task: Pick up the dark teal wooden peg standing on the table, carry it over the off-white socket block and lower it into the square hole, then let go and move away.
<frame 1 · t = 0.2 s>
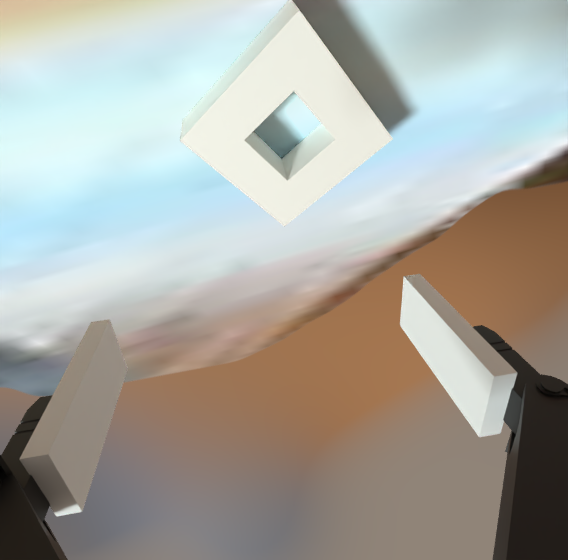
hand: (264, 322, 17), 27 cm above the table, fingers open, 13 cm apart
socket block: (283, 119, 38), on the table
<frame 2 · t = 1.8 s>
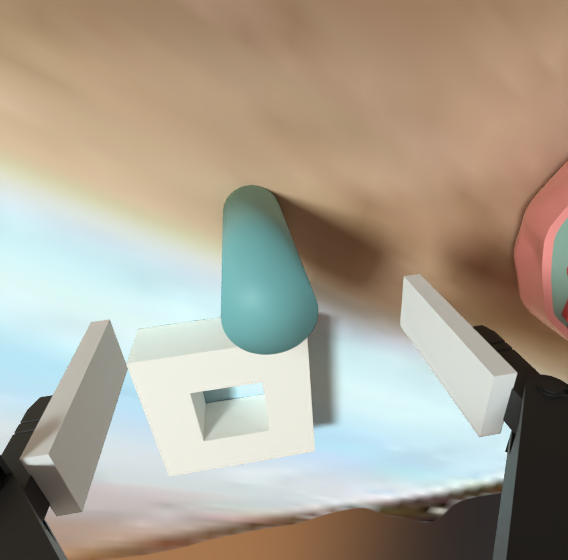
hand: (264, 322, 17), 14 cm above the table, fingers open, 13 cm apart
socket block: (231, 376, 37), on the table
peg: (252, 213, 29), on the table
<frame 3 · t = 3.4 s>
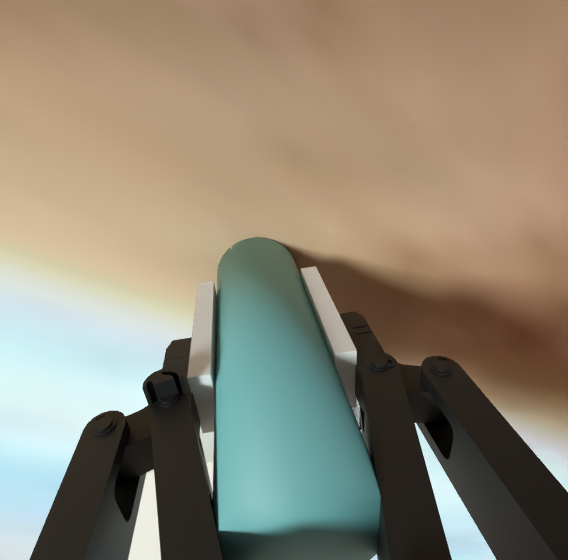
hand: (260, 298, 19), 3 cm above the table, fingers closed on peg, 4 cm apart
socket block: (228, 468, 29), on the table
peg: (257, 274, 21), on the table, touching gripper
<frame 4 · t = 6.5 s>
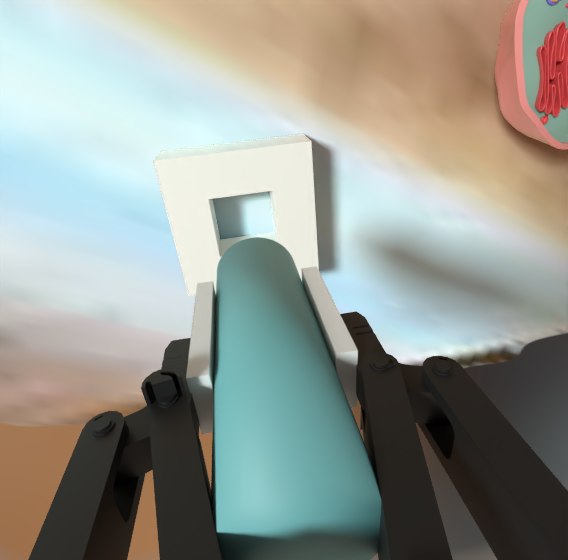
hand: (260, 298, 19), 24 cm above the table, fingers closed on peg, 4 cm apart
cell model: (549, 48, 37), on the table
socket block: (243, 209, 41), on the table
peg: (256, 274, 21), point 21 cm above the table, touching gripper
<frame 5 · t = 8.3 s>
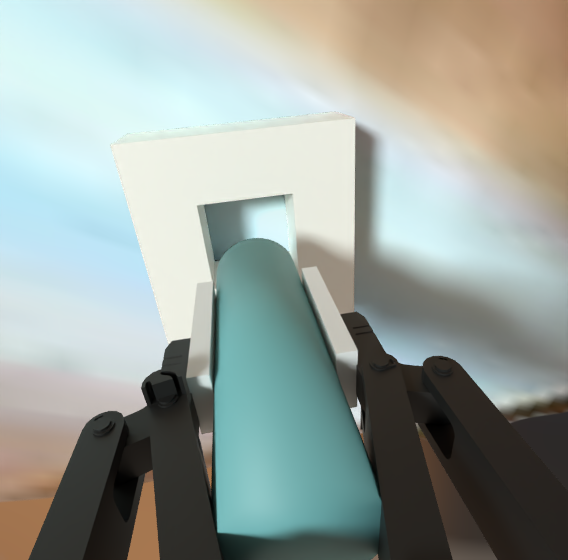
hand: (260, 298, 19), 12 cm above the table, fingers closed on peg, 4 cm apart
socket block: (247, 220, 29), on the table
peg: (256, 274, 21), point 9 cm above the table, touching gripper
when the fingers open (6 cm above the table, at t = 9.7 s): peg drops 4 cm, resting in socket block.
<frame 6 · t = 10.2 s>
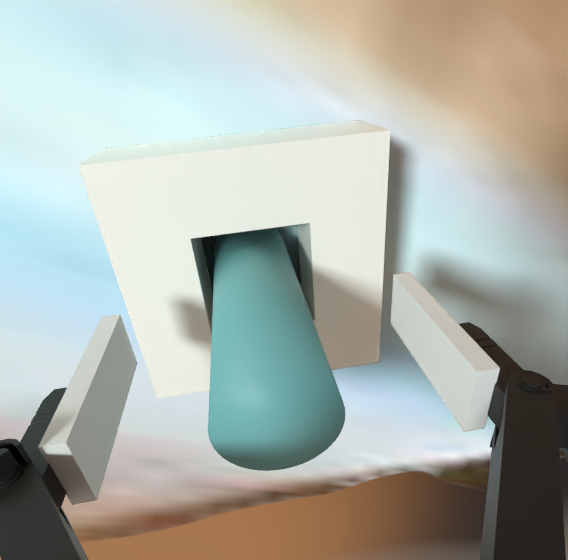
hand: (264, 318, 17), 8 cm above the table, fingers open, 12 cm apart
socket block: (252, 249, 24), on the table
peg: (249, 249, 24), resting in socket block
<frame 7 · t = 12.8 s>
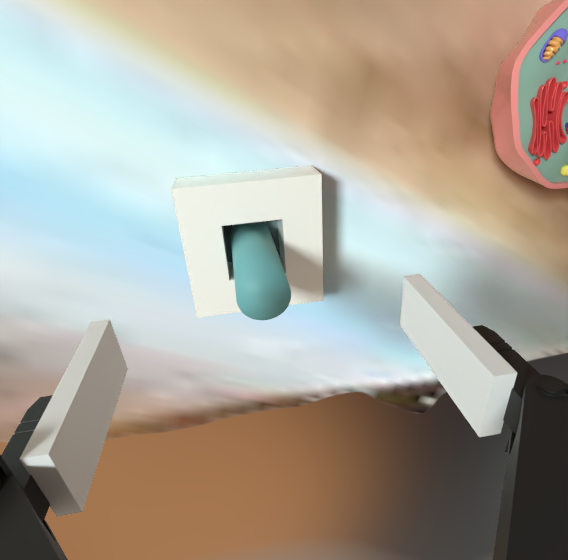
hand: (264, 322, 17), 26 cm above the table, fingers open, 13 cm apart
cell model: (538, 94, 41), on the table
socket block: (251, 234, 43), on the table
peg: (250, 235, 43), resting in socket block
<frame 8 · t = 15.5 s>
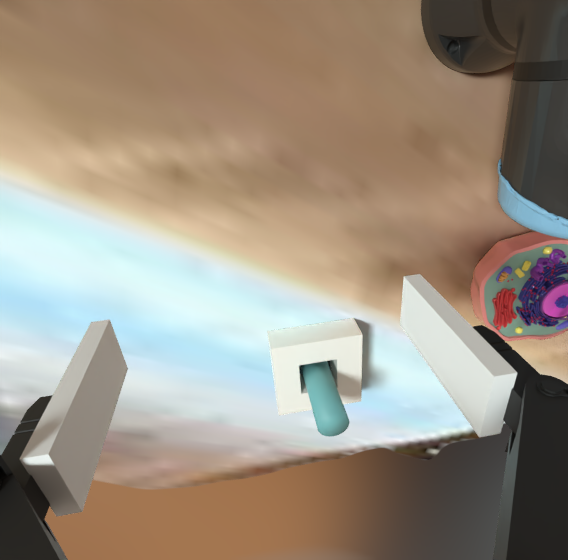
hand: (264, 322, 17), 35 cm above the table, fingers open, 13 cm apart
cell model: (504, 267, 61), on the table
socket block: (312, 358, 64), on the table
peg: (312, 358, 64), resting in socket block
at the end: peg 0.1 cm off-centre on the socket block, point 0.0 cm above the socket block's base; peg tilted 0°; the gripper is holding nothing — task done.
